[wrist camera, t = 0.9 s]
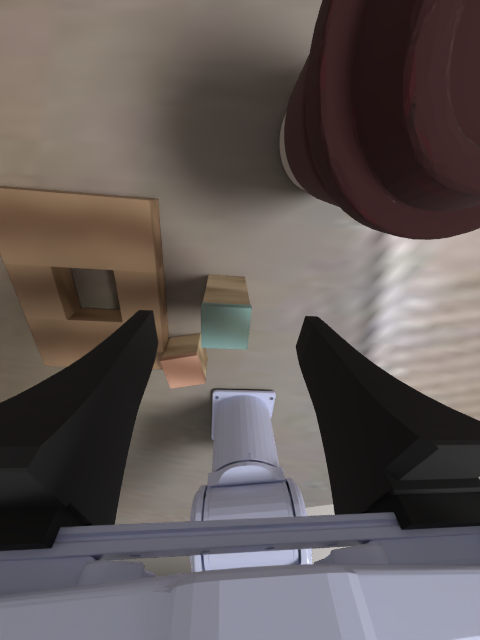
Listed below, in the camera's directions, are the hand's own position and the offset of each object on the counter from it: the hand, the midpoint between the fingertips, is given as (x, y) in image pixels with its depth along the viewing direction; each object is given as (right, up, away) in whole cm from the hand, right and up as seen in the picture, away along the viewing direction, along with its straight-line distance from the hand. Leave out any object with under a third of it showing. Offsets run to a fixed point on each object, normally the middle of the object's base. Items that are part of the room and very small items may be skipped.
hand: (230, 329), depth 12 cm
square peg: (-1, +3, +13) cm, 13 cm away
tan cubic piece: (-5, -3, +16) cm, 17 cm away
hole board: (-13, +4, +12) cm, 18 cm away
